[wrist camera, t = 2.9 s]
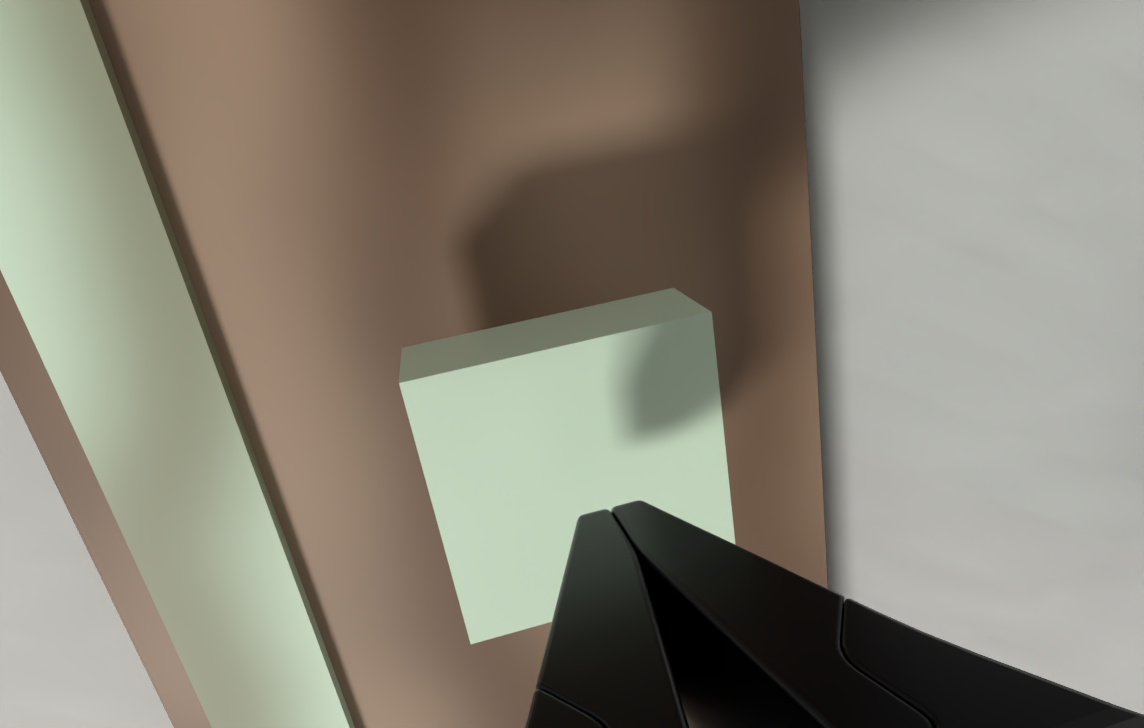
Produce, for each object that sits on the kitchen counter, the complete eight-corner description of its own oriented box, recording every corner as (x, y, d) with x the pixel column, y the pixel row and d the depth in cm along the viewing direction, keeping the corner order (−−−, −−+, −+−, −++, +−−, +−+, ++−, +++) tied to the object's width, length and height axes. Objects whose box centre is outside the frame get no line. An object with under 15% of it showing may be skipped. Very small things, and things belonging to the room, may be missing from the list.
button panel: (708, -527, 11) (777, -683, 9) (801, 765, 21) (845, 838, 19) (-300, -469, 9) (-516, -648, 7) (321, 921, 19) (309, 1023, 17)
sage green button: (673, 287, 11) (711, 312, 10) (701, 518, 13) (737, 569, 11) (401, 347, 11) (398, 382, 9) (464, 581, 12) (470, 644, 11)
